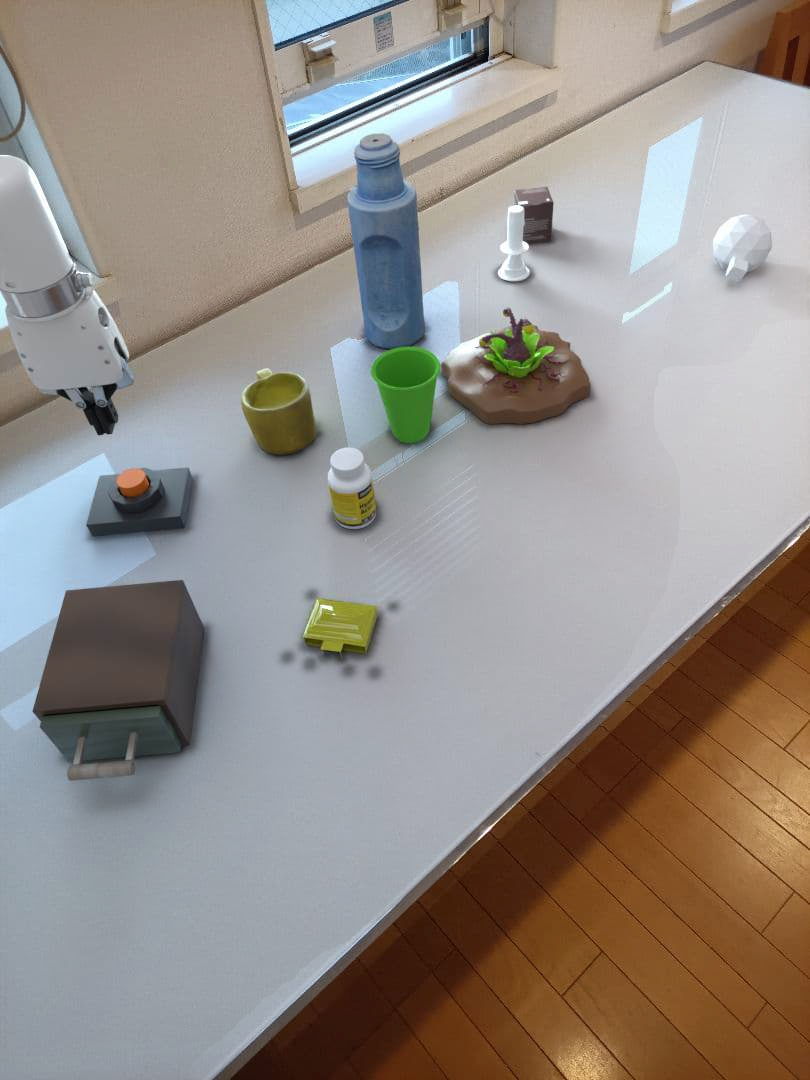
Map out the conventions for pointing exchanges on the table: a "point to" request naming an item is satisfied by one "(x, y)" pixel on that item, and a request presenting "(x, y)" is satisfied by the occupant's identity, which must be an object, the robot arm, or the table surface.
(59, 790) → the table surface
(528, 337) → the plant
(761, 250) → the white faceted rounded piece
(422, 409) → the cup
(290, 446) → the mug
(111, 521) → the control block
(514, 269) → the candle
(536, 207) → the box
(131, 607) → the cabinet
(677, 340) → the table surface
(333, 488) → the supplement bottle
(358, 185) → the bottle
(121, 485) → the button
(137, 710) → the drawer
